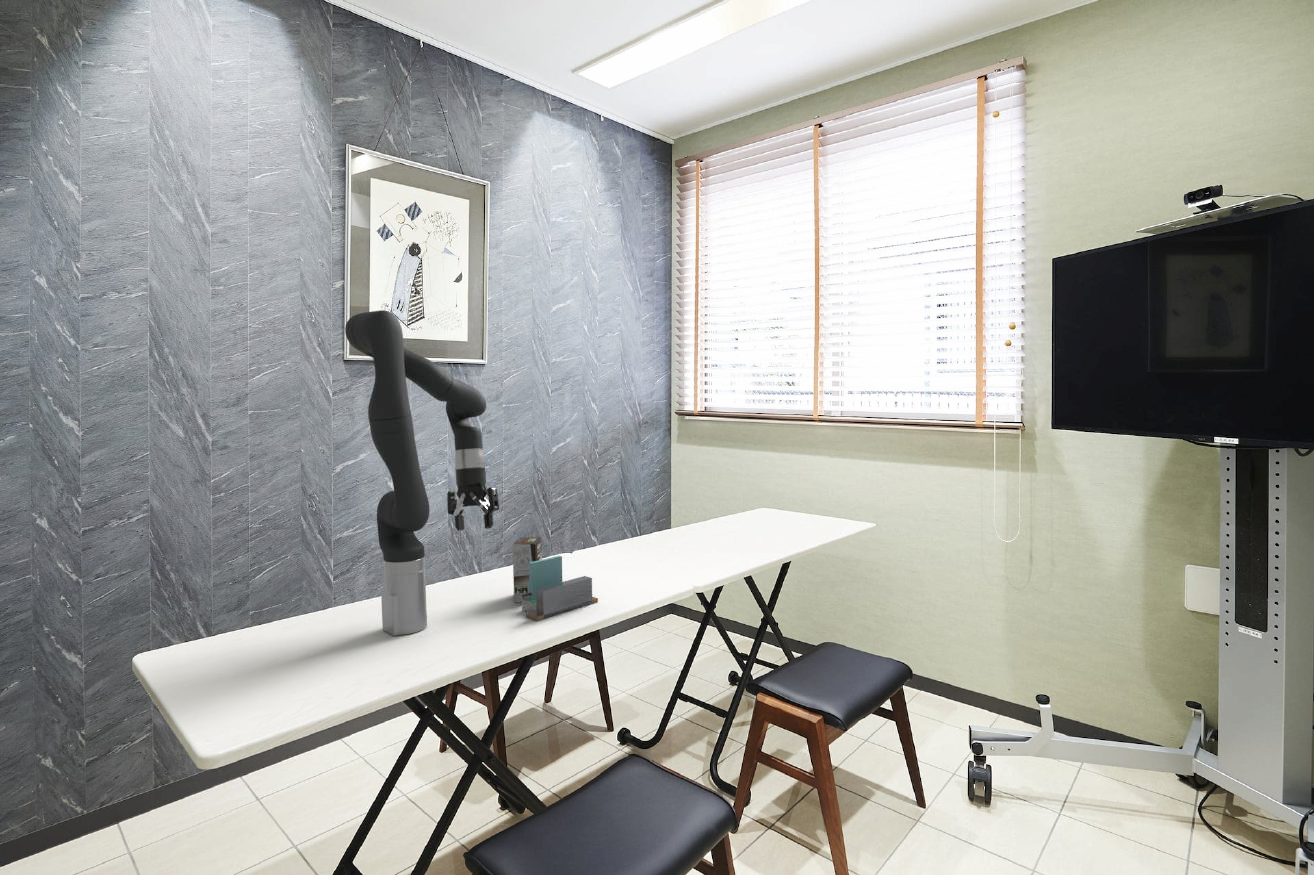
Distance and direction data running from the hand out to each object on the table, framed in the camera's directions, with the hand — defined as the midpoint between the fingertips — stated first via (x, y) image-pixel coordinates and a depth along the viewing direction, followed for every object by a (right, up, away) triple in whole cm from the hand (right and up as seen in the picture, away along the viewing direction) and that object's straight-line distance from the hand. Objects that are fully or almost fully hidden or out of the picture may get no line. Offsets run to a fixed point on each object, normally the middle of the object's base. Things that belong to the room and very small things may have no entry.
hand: (474, 529), depth 169 cm
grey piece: (+21, -21, +3) cm, 29 cm away
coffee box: (+12, -21, +11) cm, 26 cm away
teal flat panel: (+17, -19, +4) cm, 26 cm away
